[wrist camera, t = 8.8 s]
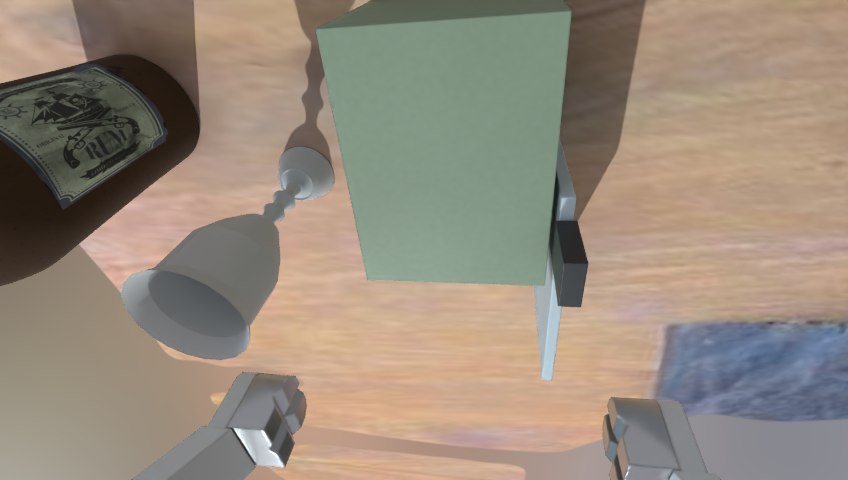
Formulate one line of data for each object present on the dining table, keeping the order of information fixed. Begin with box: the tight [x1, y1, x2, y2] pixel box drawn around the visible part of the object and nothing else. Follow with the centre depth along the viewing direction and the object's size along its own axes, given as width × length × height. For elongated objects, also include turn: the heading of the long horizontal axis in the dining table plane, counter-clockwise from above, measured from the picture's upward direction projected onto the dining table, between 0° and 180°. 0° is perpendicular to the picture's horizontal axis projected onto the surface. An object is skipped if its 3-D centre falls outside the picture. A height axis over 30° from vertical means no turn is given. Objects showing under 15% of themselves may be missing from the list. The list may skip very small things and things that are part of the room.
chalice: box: [121, 146, 334, 360], centre depth 31 cm, size 7×7×18 cm
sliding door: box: [534, 138, 588, 380], centre depth 31 cm, size 1×16×15 cm, turn 5°
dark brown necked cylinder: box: [0, 55, 199, 286], centre depth 27 cm, size 11×11×25 cm
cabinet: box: [316, 0, 572, 286], centre depth 29 cm, size 12×16×11 cm
